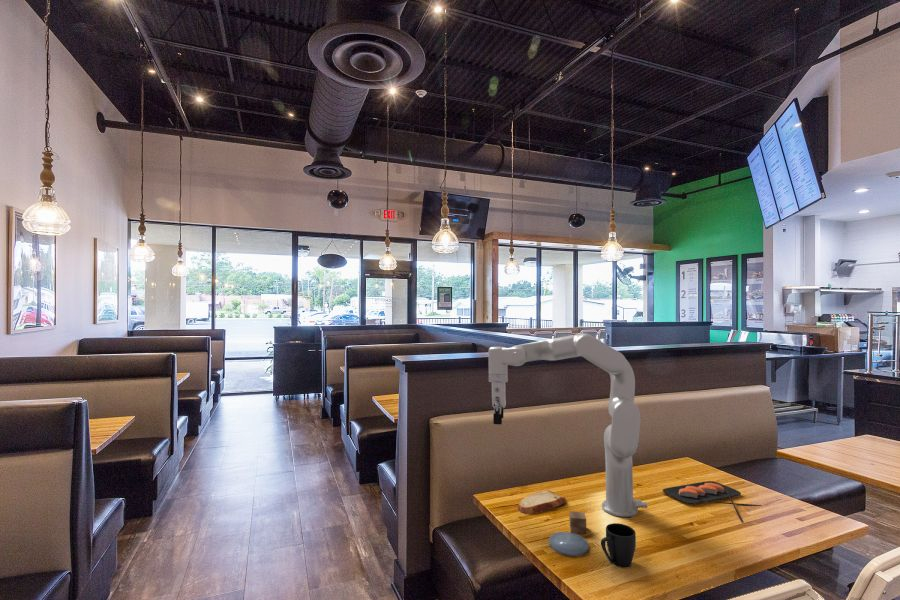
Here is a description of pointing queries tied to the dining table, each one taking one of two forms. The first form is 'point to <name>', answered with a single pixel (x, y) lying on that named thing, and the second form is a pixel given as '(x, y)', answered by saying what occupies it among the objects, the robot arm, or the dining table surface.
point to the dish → (568, 543)
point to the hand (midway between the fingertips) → (498, 421)
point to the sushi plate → (704, 493)
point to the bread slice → (540, 502)
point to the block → (577, 522)
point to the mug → (619, 544)
